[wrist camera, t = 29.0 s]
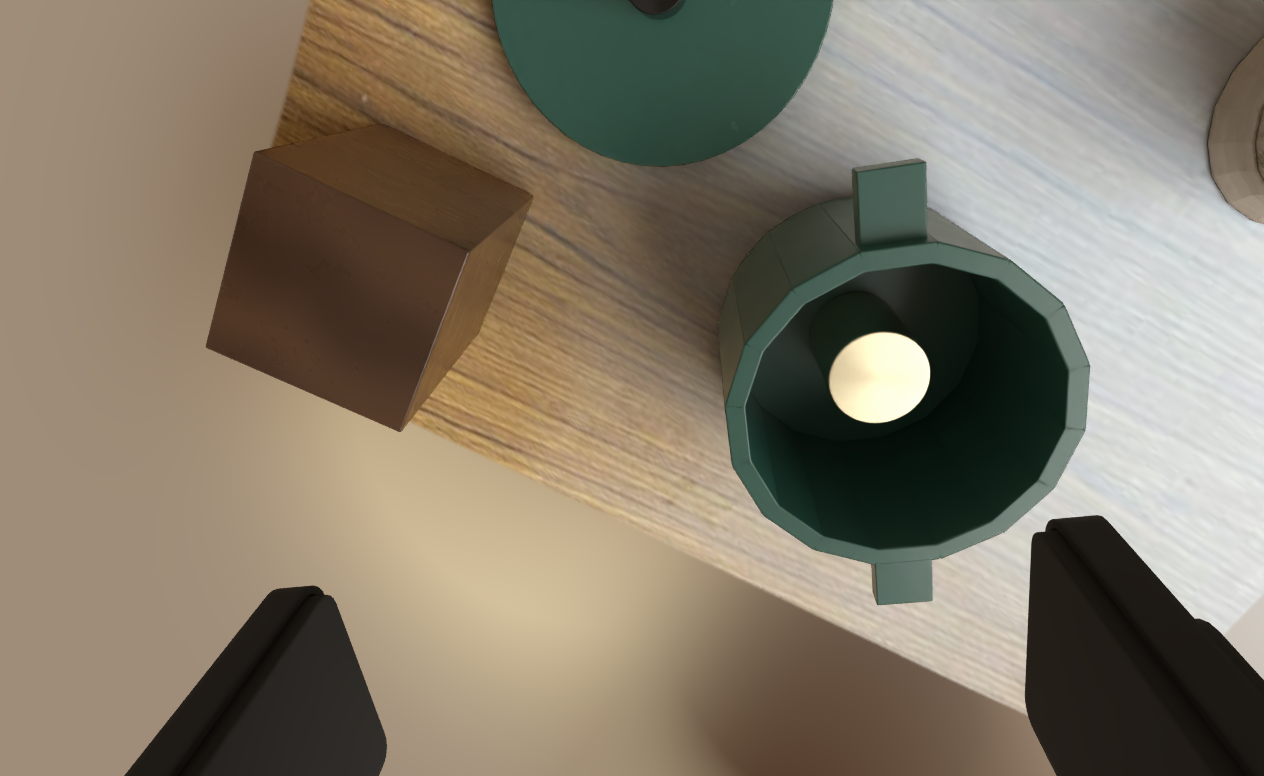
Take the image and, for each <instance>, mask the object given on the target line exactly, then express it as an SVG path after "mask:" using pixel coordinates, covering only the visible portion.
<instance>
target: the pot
mask: <svg viewBox="0 0 1264 776" xmlns="http://www.w3.org/2000/svg"><path fill="white" fill-rule="evenodd" d="M852 187H853V197H846V198H841V199H837V200H832V201H827V202H824V203H820V204H817V205H816V206H813V207H810V208H808V209H806V210H804V211H801V212H799V213H797V214H795V215H793V216H791V217H790V218H788V219H787V220H785V221H784V222H782V223H781V224H779V225H778V226H776V227H775V228H774V229H773V230H771V231H770V232H769V233H768V234H767V235H766V236H764V237H763V238H762V239H761V240H760V241H759V242H758V243H757V244H756V246H755V247H754V248H753V249H752V250H751V251H750V252H749V253H748V255H747V256H746V258H745V259H744V261H743V262H742V263H741V265H740V266H739V268H738V270H737V272H736V273H735V274H734V277H732V280H731V283H730V286H729V289H728V291H727V294H726V297H725V300H724V304H723V309H722V313H721V317H720V320H719V324H718V334H719V346H720V358H721V370H722V382H723V394H724V405H725V414H726V422H727V430H728V438H729V446H730V454H731V462H732V465H733V468H734V470H735V471H736V473H737V475H738V476H739V478H740V479H741V481H742V483H743V484H744V486H745V487H746V489H747V490H748V492H749V494H750V495H751V497H752V498H753V500H754V502H755V503H756V505H757V506H758V508H759V510H760V511H761V513H762V514H763V515H764V516H765V517H766V518H768V519H769V520H771V521H772V522H774V523H775V524H776V525H778V526H779V527H781V528H782V529H784V530H785V531H787V532H788V533H790V534H791V535H793V536H794V537H795V538H797V539H798V540H800V541H801V542H803V543H804V544H806V545H807V546H809V547H810V548H811V549H814V550H816V551H820V552H824V553H828V554H833V555H837V556H841V557H845V558H849V559H853V560H857V561H861V562H865V563H869V564H871V568H872V588H873V594H874V597H875V600H876V603H877V605H888V604H901V603H914V602H926V601H932V600H933V596H932V560H935V559H939V558H944V557H946V556H949V555H951V554H954V553H956V552H958V551H961V550H963V549H966V548H968V547H970V546H973V545H975V544H977V543H980V542H982V541H985V540H987V539H989V538H992V537H994V536H997V535H999V534H1001V533H1002V532H1003V533H1004V532H1005V531H1006V530H1007V529H1009V528H1010V527H1011V526H1012V525H1013V524H1014V523H1015V522H1017V521H1018V520H1019V519H1020V518H1021V517H1022V516H1023V515H1025V514H1026V513H1027V512H1028V511H1029V510H1030V509H1031V508H1033V507H1034V506H1035V505H1036V504H1037V503H1038V502H1039V501H1041V500H1042V499H1043V498H1044V497H1045V496H1046V495H1047V494H1049V493H1050V492H1051V491H1052V490H1053V489H1054V488H1055V486H1056V484H1057V483H1058V481H1059V479H1060V477H1061V475H1062V473H1063V471H1064V469H1065V468H1066V466H1067V464H1068V462H1069V460H1070V458H1071V456H1072V455H1073V453H1074V451H1075V449H1076V447H1077V445H1078V443H1079V441H1080V440H1081V438H1082V436H1083V434H1084V432H1085V429H1086V417H1087V402H1088V388H1089V374H1090V365H1089V361H1088V359H1087V356H1086V354H1085V352H1084V349H1083V347H1082V345H1081V342H1080V340H1079V338H1078V335H1077V333H1076V331H1075V328H1074V326H1073V324H1072V321H1071V319H1070V317H1069V314H1068V312H1067V310H1066V307H1065V305H1063V302H1061V301H1060V300H1059V299H1058V298H1057V297H1055V296H1054V295H1053V294H1052V293H1050V292H1049V291H1048V290H1047V289H1046V288H1044V287H1043V286H1042V285H1041V284H1039V283H1038V282H1037V281H1036V280H1035V279H1033V278H1032V277H1031V276H1030V275H1028V274H1027V273H1026V272H1025V271H1024V270H1022V269H1021V268H1020V267H1019V266H1017V265H1016V264H1015V263H1014V262H1013V261H1011V260H1010V259H1008V258H1007V257H1005V256H1004V255H1002V254H1000V253H999V252H997V251H996V250H994V249H993V248H991V247H990V246H988V245H987V244H985V243H983V242H982V241H980V240H979V239H977V238H976V237H974V236H973V235H971V234H970V233H968V232H966V231H965V230H963V229H962V228H960V227H959V226H957V225H956V224H954V223H953V222H951V221H949V220H948V219H946V218H945V217H943V216H942V215H940V214H939V213H937V212H936V211H934V210H932V209H929V208H927V186H926V162H925V161H923V160H921V159H918V158H917V159H910V160H904V161H897V162H890V163H884V164H877V165H870V166H864V167H857V168H853V169H852ZM854 292H862V293H869V294H872V295H875V296H877V297H879V298H881V299H882V300H884V301H885V302H886V303H887V304H888V305H889V306H890V307H891V308H892V309H893V311H894V312H895V313H896V315H897V316H898V317H899V318H900V320H901V321H902V322H903V324H904V325H905V326H906V327H907V329H908V330H909V331H910V333H911V334H912V335H913V336H914V338H915V339H916V340H917V342H918V343H919V344H920V345H921V347H922V348H923V349H924V351H925V353H926V354H927V356H928V359H929V362H930V367H931V379H930V384H929V387H928V390H927V392H926V394H925V396H924V397H923V399H922V400H921V402H920V403H919V404H918V405H917V406H916V407H915V408H914V409H913V410H912V411H910V412H909V413H908V414H906V415H904V416H903V417H901V418H899V419H896V420H894V421H890V422H886V423H877V424H873V423H864V422H860V421H857V420H854V419H852V418H850V417H848V416H847V415H845V414H844V413H843V412H841V411H840V410H839V409H838V407H837V406H836V405H835V404H834V402H833V400H832V398H831V396H830V394H829V391H828V389H827V386H826V384H825V381H824V379H823V376H822V374H821V371H820V368H819V366H818V363H817V361H816V358H815V356H814V353H813V351H812V348H811V344H810V329H811V326H812V323H813V320H814V318H815V316H816V315H817V313H818V312H819V311H820V309H821V308H822V307H823V306H824V305H825V304H827V303H828V302H829V301H831V300H832V299H834V298H836V297H838V296H840V295H844V294H847V293H854Z"/></svg>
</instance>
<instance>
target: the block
mask: <svg viewBox="0 0 1264 776" xmlns="http://www.w3.org/2000/svg"><path fill="white" fill-rule="evenodd" d="M532 200H533V195H531V194H529V193H527V192H525V191H522V190H520V189H518V188H516V187H514V186H512V185H510V184H508V183H506V182H504V181H502V180H499V179H497V178H495V177H493V176H491V175H489V174H487V173H485V172H483V171H481V170H479V169H477V168H474V167H472V166H470V165H468V164H466V163H464V162H462V161H460V160H458V159H456V158H454V157H451V156H449V155H447V154H445V153H443V152H441V151H439V150H437V149H435V148H433V147H431V146H428V145H426V144H424V143H422V142H420V141H418V140H416V139H414V138H412V137H410V136H408V135H406V134H403V133H401V132H399V131H397V130H395V129H393V128H391V127H389V126H387V125H385V124H379V125H375V126H370V127H366V128H361V129H357V130H352V131H347V132H343V133H338V134H334V135H329V136H324V137H320V138H315V139H311V140H306V141H301V142H297V143H292V144H288V145H283V146H279V147H274V148H269V149H265V150H260V151H256V152H254V154H253V158H252V162H251V166H250V170H249V174H248V178H247V182H246V186H245V190H244V194H243V198H242V202H241V206H240V210H239V214H238V219H237V223H236V227H235V231H234V235H233V239H232V243H231V247H230V251H229V255H228V259H227V263H226V267H225V271H224V275H223V279H222V283H221V287H220V291H219V295H218V299H217V303H216V307H215V311H214V315H213V320H212V323H211V328H210V331H209V335H208V339H207V343H206V348H208V349H210V350H213V351H215V352H217V353H219V354H222V355H224V356H226V357H229V358H231V359H233V360H236V361H238V362H240V363H242V364H245V365H247V366H249V367H252V368H254V369H256V370H259V371H261V372H263V373H265V374H268V375H270V376H272V377H274V378H277V379H279V380H281V381H284V382H286V383H288V384H291V385H293V386H295V387H298V388H300V389H302V390H305V391H307V392H309V393H311V394H314V395H316V396H318V397H320V398H323V399H325V400H327V401H330V402H332V403H334V404H337V405H339V406H341V407H343V408H346V409H348V410H350V411H352V412H355V413H357V414H359V415H362V416H364V417H366V418H369V419H371V420H373V421H375V422H378V423H380V424H382V425H385V426H387V427H389V428H392V429H394V430H396V431H398V432H401V431H402V430H403V429H404V428H405V426H406V425H407V424H408V422H409V421H410V420H411V419H412V417H413V416H414V415H415V413H416V412H417V411H418V410H419V408H420V407H421V406H422V404H423V403H424V402H425V401H426V399H427V398H428V397H429V396H430V394H431V393H432V392H433V390H434V389H435V388H436V387H437V385H438V384H439V383H440V381H441V380H442V379H443V378H444V376H445V375H446V374H447V372H448V371H449V370H450V369H451V367H452V366H453V365H454V364H455V362H456V361H457V360H458V358H459V357H460V356H461V355H462V353H463V352H464V351H465V349H466V348H467V347H468V346H469V344H470V343H471V342H472V340H473V339H474V338H475V337H476V335H477V334H478V333H479V331H480V328H481V326H482V323H483V321H484V318H485V316H486V313H487V311H488V309H489V306H490V304H491V301H492V299H493V296H494V294H495V291H496V289H497V286H498V284H499V281H500V279H501V276H502V274H503V271H504V269H505V267H506V264H507V262H508V259H509V257H510V254H511V252H512V249H513V247H514V244H515V242H516V239H517V237H518V234H519V232H520V230H521V227H522V225H523V222H524V220H525V217H526V215H527V212H528V210H529V207H530V205H531V202H532Z"/></svg>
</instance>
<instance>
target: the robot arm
mask: <svg viewBox="0 0 1264 776" xmlns="http://www.w3.org/2000/svg"><path fill="white" fill-rule="evenodd" d="M1025 702H1026V709H1027V713H1028V717H1029V720H1030V723H1031V725H1032V727H1033V730H1034V732H1035V734H1036V736H1037V738H1038V739H1039V742H1040V744H1041V746H1042V747H1043V749H1044V751H1045V753H1046V756H1047V758H1048V760H1049V761H1050V763H1051V765H1052V767H1053V769H1054V771H1055V773H1056V775H1057V776H1264V680H1263V679H1262V678H1261V677H1260V676H1259V675H1258V673H1257V672H1256V671H1255V670H1254V669H1253V668H1252V667H1251V666H1250V665H1249V664H1248V662H1247V661H1246V660H1245V659H1244V658H1243V657H1242V656H1241V655H1240V654H1239V652H1238V651H1237V650H1236V649H1235V648H1234V647H1233V646H1232V645H1231V644H1230V643H1229V641H1228V640H1227V639H1226V638H1225V637H1224V636H1223V635H1222V634H1221V633H1220V632H1219V631H1218V630H1217V629H1216V628H1215V627H1213V626H1212V625H1211V624H1210V623H1209V622H1206V621H1204V620H1201V619H1194V618H1193V617H1192V615H1191V614H1190V613H1189V612H1188V611H1187V610H1186V609H1185V608H1184V606H1183V605H1182V604H1181V603H1180V602H1179V601H1178V600H1177V599H1176V597H1175V596H1174V595H1173V594H1172V593H1171V592H1170V591H1169V590H1168V588H1167V587H1166V586H1165V585H1164V584H1163V583H1162V582H1161V581H1160V579H1159V578H1158V577H1157V576H1156V575H1155V574H1154V573H1153V572H1152V570H1151V569H1150V568H1149V567H1148V566H1147V565H1146V564H1145V562H1144V561H1143V560H1142V559H1141V558H1140V557H1139V556H1138V555H1137V553H1136V552H1135V551H1134V550H1133V549H1132V548H1131V547H1130V546H1129V544H1128V543H1127V542H1126V541H1125V540H1124V539H1123V538H1122V537H1121V535H1120V534H1119V533H1118V532H1117V531H1116V530H1115V529H1114V528H1113V526H1112V525H1111V524H1110V523H1109V522H1108V521H1107V520H1106V519H1105V518H1104V517H1102V516H1098V515H1095V516H1083V517H1072V518H1061V519H1052V520H1050V521H1048V524H1047V526H1046V530H1045V532H1037V533H1035V534H1034V535H1033V537H1032V544H1031V566H1030V590H1029V613H1028V636H1027V659H1026V682H1025ZM386 750H387V744H386V737H385V733H384V730H383V728H382V725H381V722H380V720H379V717H378V714H377V712H376V709H375V706H374V704H373V701H372V698H371V695H370V693H369V690H368V687H367V685H366V682H365V680H364V677H363V674H362V671H361V669H360V666H359V663H358V660H357V658H356V655H355V653H354V650H353V647H352V645H351V642H350V639H349V636H348V634H347V631H346V628H345V626H344V623H343V620H342V618H341V615H340V612H339V610H338V607H337V604H336V602H335V600H334V598H332V597H331V596H329V595H324V593H323V591H322V590H321V589H320V588H319V587H316V586H303V587H292V588H280V589H276V590H273V591H272V592H270V593H269V594H268V595H267V596H266V598H265V599H264V600H263V601H262V603H261V604H260V605H259V607H258V608H257V609H256V610H255V612H254V613H253V614H252V615H251V617H250V618H249V619H248V620H247V622H246V623H245V624H244V626H243V627H242V628H241V629H240V630H239V632H238V633H237V634H236V635H235V637H234V638H233V639H232V641H231V642H230V643H229V644H228V646H227V647H226V648H225V649H224V651H223V652H222V653H221V654H220V656H219V657H218V658H217V659H216V661H215V662H214V663H213V665H212V666H211V667H210V668H209V670H208V671H207V672H206V673H205V675H204V676H203V677H202V678H201V680H200V681H199V682H198V684H197V685H196V686H195V687H194V688H193V690H192V691H191V692H190V694H189V695H188V696H187V697H186V699H185V700H184V701H183V702H182V704H181V705H180V706H179V708H178V709H177V710H176V711H175V713H174V714H173V715H172V716H171V717H170V719H169V720H168V721H167V723H166V724H165V725H164V726H163V728H162V729H161V730H160V731H159V733H158V734H157V735H156V736H155V738H154V739H153V740H152V742H151V743H150V744H149V745H148V747H147V748H146V749H145V750H144V752H143V753H142V754H141V755H140V757H139V758H138V759H137V760H136V762H135V763H134V764H133V765H132V767H131V768H130V770H128V772H127V773H126V774H125V776H379V774H380V772H381V769H382V767H383V764H384V762H385V758H386Z"/></svg>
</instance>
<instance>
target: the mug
mask: <svg viewBox="0 0 1264 776" xmlns="http://www.w3.org/2000/svg"><path fill="white" fill-rule="evenodd" d="M1208 149H1209V157H1210V164H1211V171H1212V177H1213V179H1214V180H1215V182H1216V184H1217V185H1218V187H1219V189H1220V190H1221V192H1222V194H1223V196H1224V197H1225V199H1226V201H1227V202H1228V203H1229V204H1230V205H1231V206H1233V207H1234V208H1236V209H1237V210H1238V211H1240V212H1241V213H1242V214H1244V215H1245V216H1247V217H1248V218H1249V219H1251V220H1252V221H1255V222H1259V223H1262V224H1264V37H1263V38H1262V39H1261V40H1260V41H1259V42H1258V43H1257V44H1256V46H1255V47H1254V48H1253V49H1252V50H1251V51H1250V52H1249V54H1248V55H1247V56H1246V57H1245V58H1244V59H1243V60H1242V62H1241V63H1240V64H1239V65H1238V66H1237V67H1236V68H1235V70H1234V71H1233V73H1232V75H1231V77H1230V79H1229V81H1228V83H1227V85H1226V86H1225V88H1224V90H1223V92H1222V94H1221V96H1220V98H1219V100H1218V102H1217V104H1216V106H1215V109H1214V114H1213V119H1212V124H1211V129H1210V134H1209V140H1208Z"/></svg>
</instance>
